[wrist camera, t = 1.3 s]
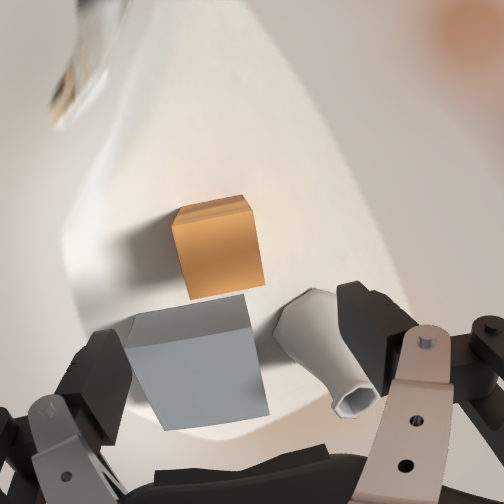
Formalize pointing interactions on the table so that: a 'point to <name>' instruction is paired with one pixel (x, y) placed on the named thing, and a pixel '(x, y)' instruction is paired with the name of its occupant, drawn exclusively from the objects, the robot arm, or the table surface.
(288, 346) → the flask
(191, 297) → the orange block
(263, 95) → the table surface
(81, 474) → the robot arm
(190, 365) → the pedestal
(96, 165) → the table surface
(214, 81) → the table surface
